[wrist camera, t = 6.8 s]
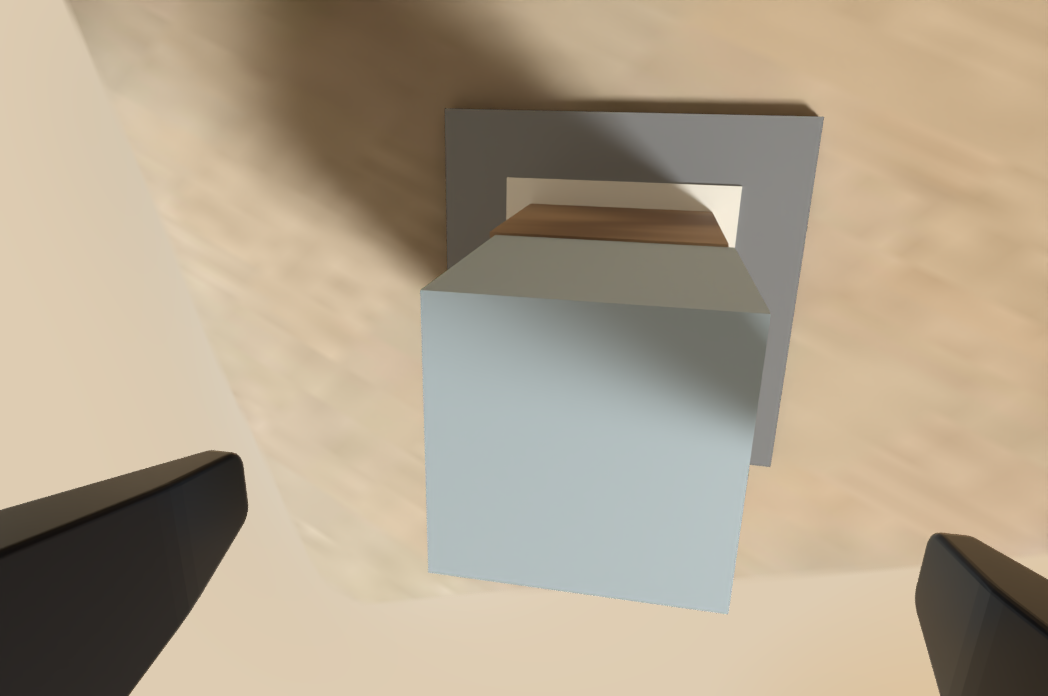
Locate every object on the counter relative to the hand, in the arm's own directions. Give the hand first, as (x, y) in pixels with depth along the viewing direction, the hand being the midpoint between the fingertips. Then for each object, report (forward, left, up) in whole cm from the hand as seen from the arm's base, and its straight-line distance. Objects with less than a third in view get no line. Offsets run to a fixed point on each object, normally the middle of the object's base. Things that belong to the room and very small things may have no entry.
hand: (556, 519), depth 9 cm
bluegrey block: (0, 0, -7) cm, 7 cm away
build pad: (0, 0, -12) cm, 12 cm away
